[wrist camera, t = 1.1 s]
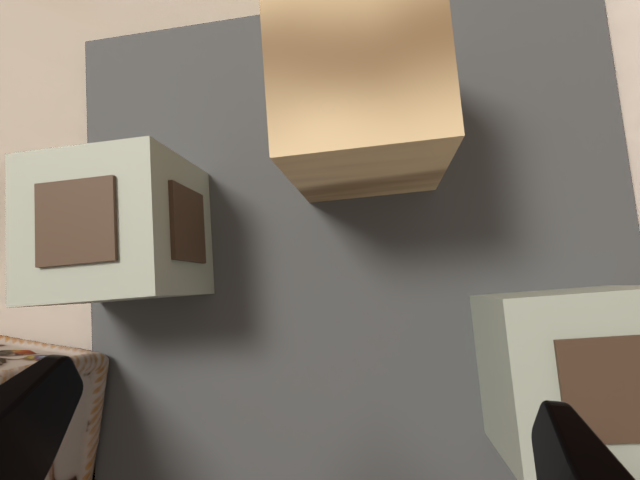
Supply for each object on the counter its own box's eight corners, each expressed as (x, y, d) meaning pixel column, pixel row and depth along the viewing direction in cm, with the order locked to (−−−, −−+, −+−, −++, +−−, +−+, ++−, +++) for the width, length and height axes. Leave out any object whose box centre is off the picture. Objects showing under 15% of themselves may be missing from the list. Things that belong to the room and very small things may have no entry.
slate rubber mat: (673, 495, 20) (680, 501, 19) (102, 507, 23) (96, 511, 23) (593, -31, 22) (598, -38, 22) (90, 46, 26) (85, 41, 25)
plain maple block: (435, 189, 22) (464, 135, 14) (309, 202, 23) (269, 158, 15) (422, 68, 23) (443, -50, 15) (300, 84, 23) (257, -19, 15)
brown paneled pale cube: (218, 293, 23) (157, 295, 17) (100, 302, 24) (1, 307, 18) (212, 173, 23) (151, 133, 17) (97, 185, 24) (1, 152, 18)
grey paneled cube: (636, 426, 20) (748, 489, 14) (484, 432, 21) (527, 494, 14) (615, 285, 20) (713, 284, 14) (469, 295, 21) (504, 299, 15)
